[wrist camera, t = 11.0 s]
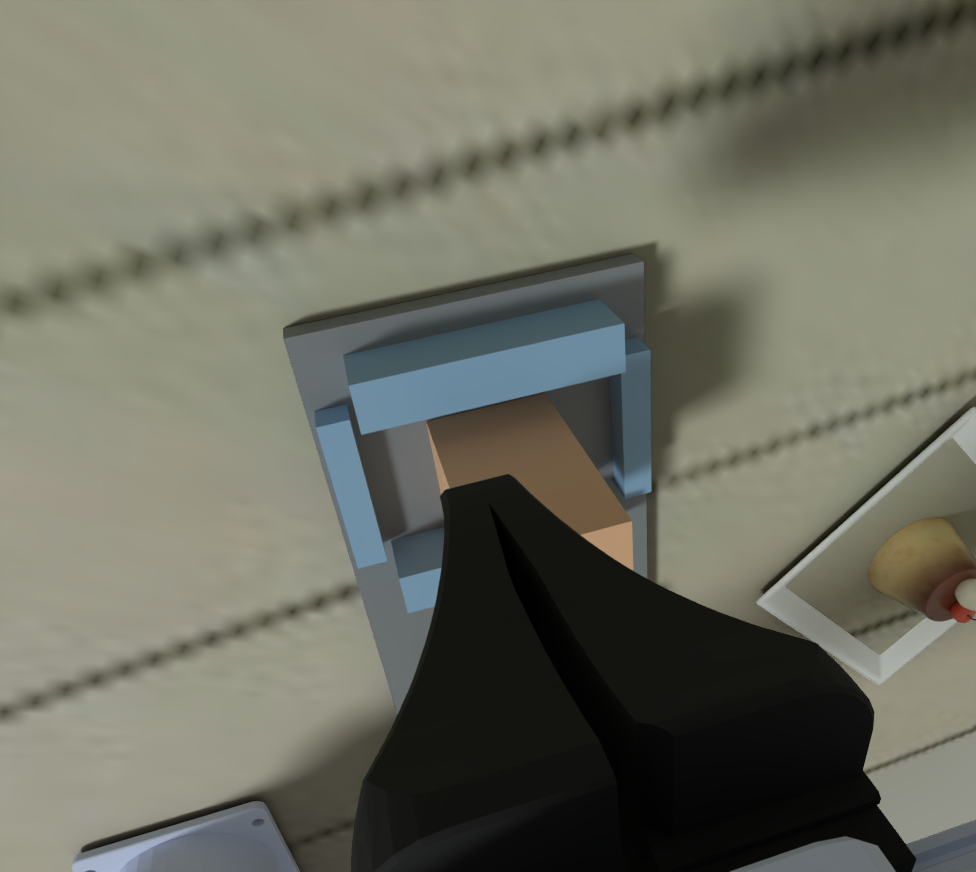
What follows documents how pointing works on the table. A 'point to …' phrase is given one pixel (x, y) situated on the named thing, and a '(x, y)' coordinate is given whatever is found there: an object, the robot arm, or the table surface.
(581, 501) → the tan cardboard block
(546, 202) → the table surface
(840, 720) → the robot arm
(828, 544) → the dessert
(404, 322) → the grey fixture plate
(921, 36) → the table surface
